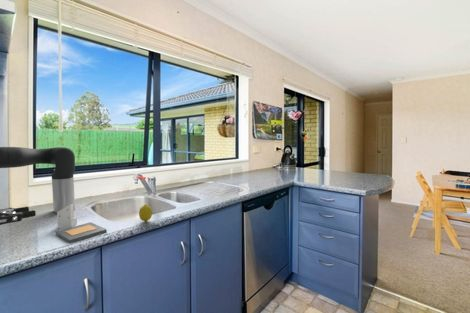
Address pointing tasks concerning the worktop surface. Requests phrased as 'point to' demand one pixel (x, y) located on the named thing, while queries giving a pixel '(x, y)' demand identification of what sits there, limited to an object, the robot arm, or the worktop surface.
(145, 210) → the lemon
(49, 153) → the robot arm
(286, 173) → the worktop surface
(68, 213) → the white wedge bracket
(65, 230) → the mounting plate
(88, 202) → the worktop surface
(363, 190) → the worktop surface
